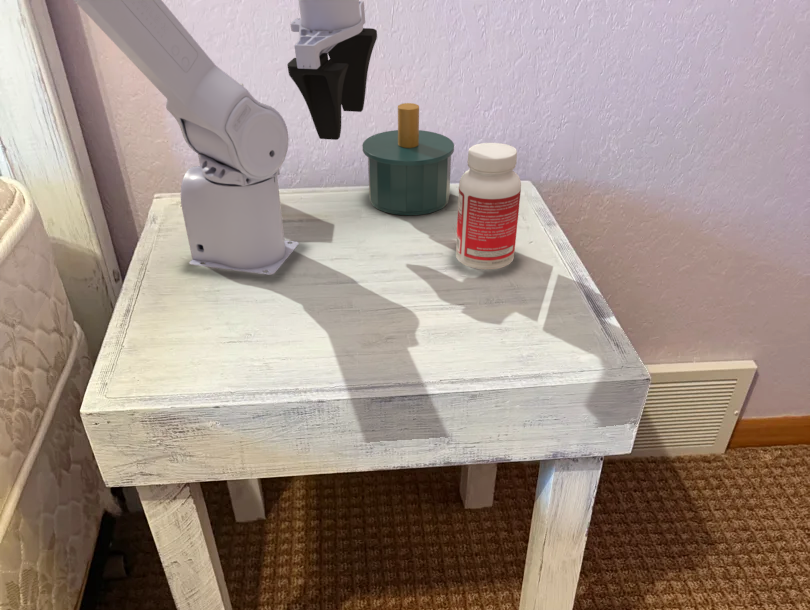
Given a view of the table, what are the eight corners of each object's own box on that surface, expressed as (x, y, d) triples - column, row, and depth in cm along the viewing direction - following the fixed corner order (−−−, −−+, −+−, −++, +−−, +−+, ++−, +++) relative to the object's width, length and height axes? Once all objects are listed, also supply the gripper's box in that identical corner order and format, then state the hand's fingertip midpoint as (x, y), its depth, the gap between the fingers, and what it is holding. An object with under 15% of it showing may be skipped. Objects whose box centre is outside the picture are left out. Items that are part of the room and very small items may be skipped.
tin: (359, 210, 90) (357, 157, 86) (382, 181, 97) (381, 130, 93) (438, 219, 88) (440, 165, 84) (456, 188, 95) (458, 137, 91)
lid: (455, 171, 85) (457, 121, 81) (360, 171, 85) (358, 121, 81) (452, 139, 92) (454, 92, 89) (365, 139, 92) (363, 91, 89)
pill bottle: (525, 264, 80) (538, 153, 72) (479, 279, 78) (487, 166, 70) (489, 243, 84) (497, 135, 76) (443, 257, 82) (448, 146, 74)
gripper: (312, -53, 76) (329, 97, 86) (253, -14, 67) (280, 149, 77) (379, -53, 74) (389, 100, 84) (329, -13, 65) (346, 153, 75)
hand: (341, 123), depth 80 cm, fingers open, 7 cm apart
